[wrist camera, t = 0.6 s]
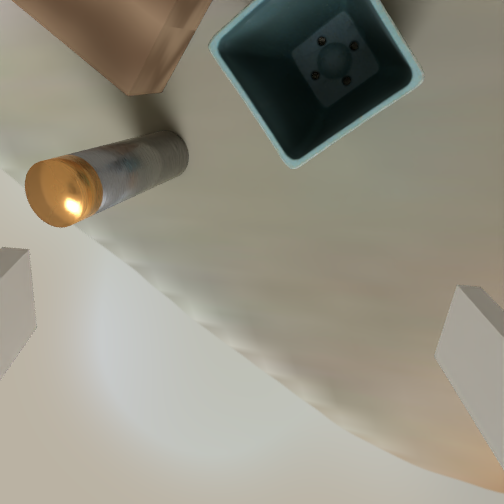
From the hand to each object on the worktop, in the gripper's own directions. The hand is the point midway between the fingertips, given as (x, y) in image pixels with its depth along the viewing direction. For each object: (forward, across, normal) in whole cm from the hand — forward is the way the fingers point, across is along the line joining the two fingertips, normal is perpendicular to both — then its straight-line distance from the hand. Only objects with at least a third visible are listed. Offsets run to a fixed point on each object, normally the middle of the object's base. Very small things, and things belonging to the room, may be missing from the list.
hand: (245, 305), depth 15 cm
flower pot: (+23, +6, +7) cm, 25 cm away
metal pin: (+27, -6, -2) cm, 28 cm away
